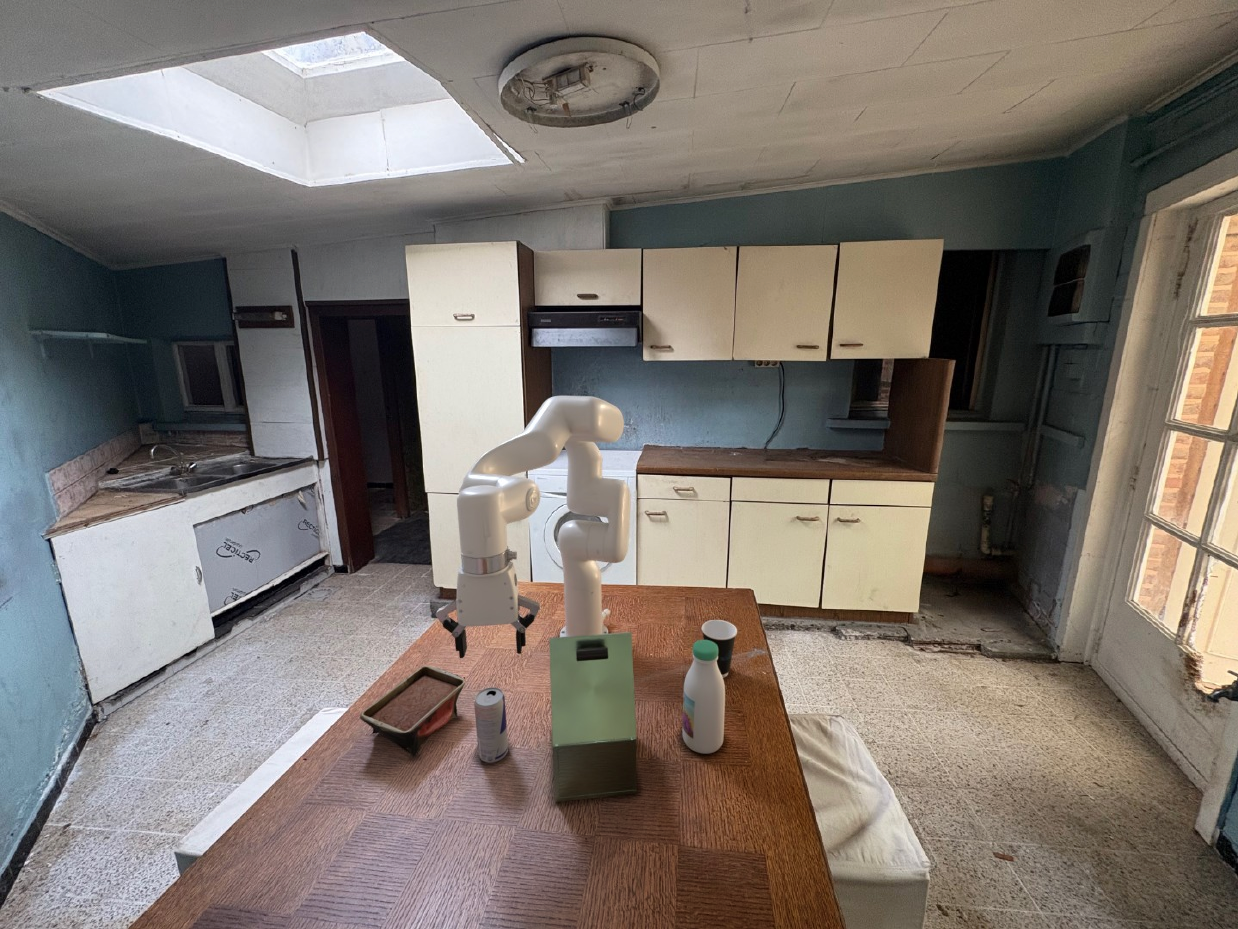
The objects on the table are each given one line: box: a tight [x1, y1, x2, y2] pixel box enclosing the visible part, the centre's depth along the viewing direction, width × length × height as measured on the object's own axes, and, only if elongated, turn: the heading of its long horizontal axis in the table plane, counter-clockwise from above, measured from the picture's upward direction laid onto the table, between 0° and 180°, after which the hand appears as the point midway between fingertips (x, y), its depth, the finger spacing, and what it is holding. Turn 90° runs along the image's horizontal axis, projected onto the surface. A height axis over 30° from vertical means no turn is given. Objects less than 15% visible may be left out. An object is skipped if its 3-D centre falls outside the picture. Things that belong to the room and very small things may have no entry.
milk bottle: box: [682, 639, 726, 755], centre depth 93 cm, size 8×8×20 cm
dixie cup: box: [701, 619, 738, 679], centre depth 114 cm, size 8×8×11 cm
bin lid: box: [548, 631, 638, 746], centre depth 80 cm, size 16×14×5 cm
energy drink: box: [473, 686, 509, 764], centre depth 92 cm, size 5×5×12 cm
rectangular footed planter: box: [359, 665, 466, 758], centre depth 99 cm, size 14×18×10 cm
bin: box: [552, 737, 638, 803], centre depth 90 cm, size 16×14×11 cm
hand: (491, 651), depth 87 cm, fingers open, 9 cm apart
